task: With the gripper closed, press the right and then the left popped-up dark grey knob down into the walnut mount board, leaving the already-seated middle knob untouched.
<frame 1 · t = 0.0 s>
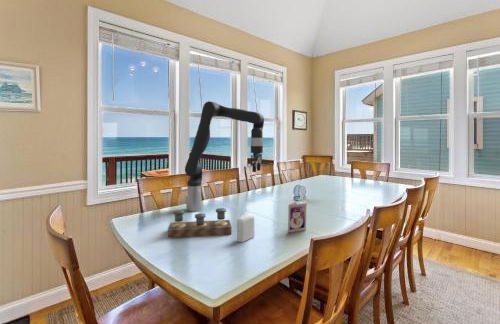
hand: (256, 171, 166), 29 cm above the table, fingers open, 8 cm apart
left knob: (178, 215, 139), point 9 cm above the table, slide at 2.5 cm
middle knob: (200, 219, 141), point 7 cm above the table, slide at 0.0 cm
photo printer: (245, 239, 133), on the table
right knob: (220, 214, 143), point 9 cm above the table, slide at 2.5 cm
mount board: (200, 232, 142), on the table
greeting card: (294, 230, 146), on the table
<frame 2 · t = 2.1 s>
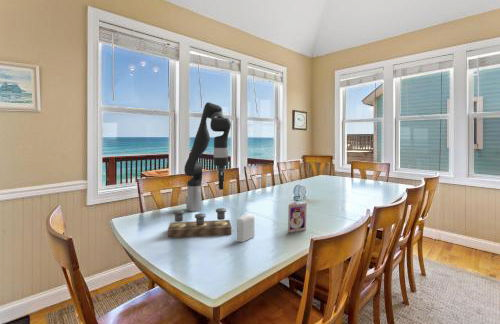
hand: (220, 188, 141), 23 cm above the table, fingers open, 3 cm apart
nothing on the table moved.
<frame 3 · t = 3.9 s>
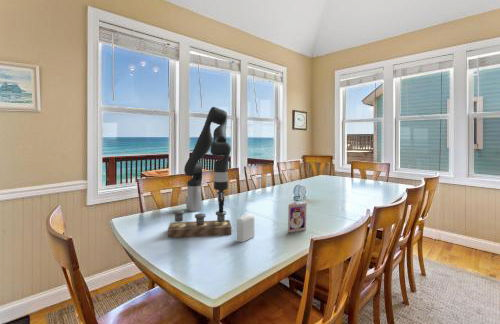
hand: (221, 212, 143), 10 cm above the table, fingers closed
right knob: (220, 216, 143), point 8 cm above the table, slide at 1.0 cm, touching gripper
everything else where it was.
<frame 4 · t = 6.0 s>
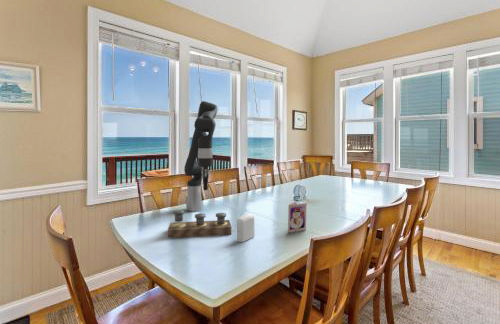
hand: (205, 189, 140), 23 cm above the table, fingers closed
right knob: (220, 218, 143), point 7 cm above the table, slide at 0.0 cm
everything else where it was.
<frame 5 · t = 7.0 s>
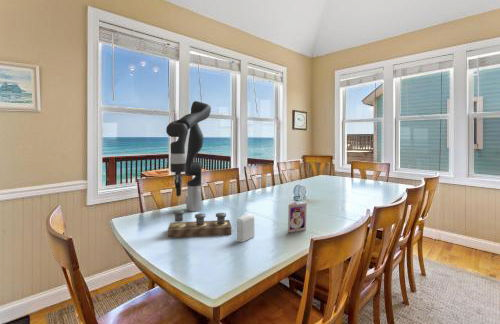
hand: (178, 195, 138), 20 cm above the table, fingers closed
nothing on the table moved.
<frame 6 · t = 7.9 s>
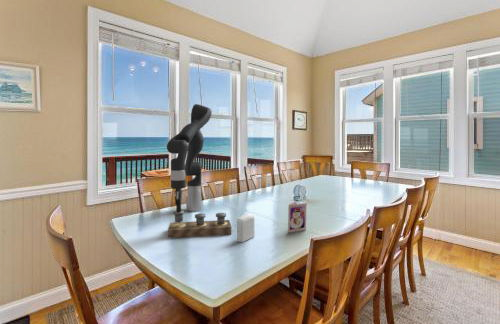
hand: (178, 211, 139), 12 cm above the table, fingers closed
left knob: (178, 216, 139), point 9 cm above the table, slide at 2.3 cm, touching gripper
everything else where it was.
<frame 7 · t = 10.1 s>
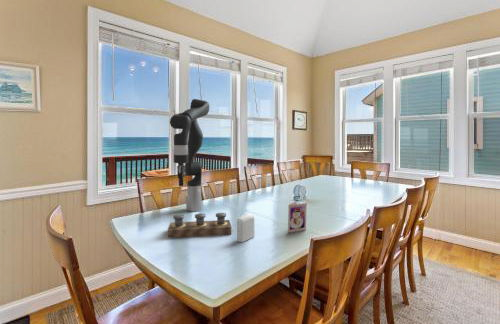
hand: (181, 185, 143), 24 cm above the table, fingers closed
left knob: (178, 220, 139), point 7 cm above the table, slide at 0.0 cm
everything else where it was.
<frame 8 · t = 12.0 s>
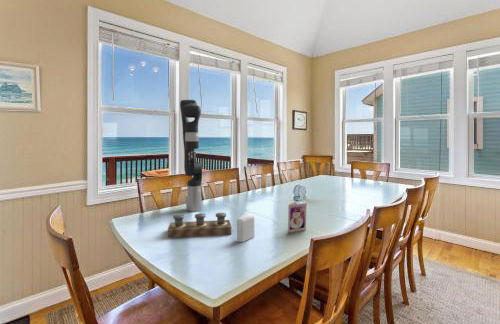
hand: (192, 170, 154), 31 cm above the table, fingers closed
nothing on the table moved.
at the end: right knob slide at 0.0 cm; left knob slide at 0.0 cm; middle knob slide at 0.0 cm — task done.
